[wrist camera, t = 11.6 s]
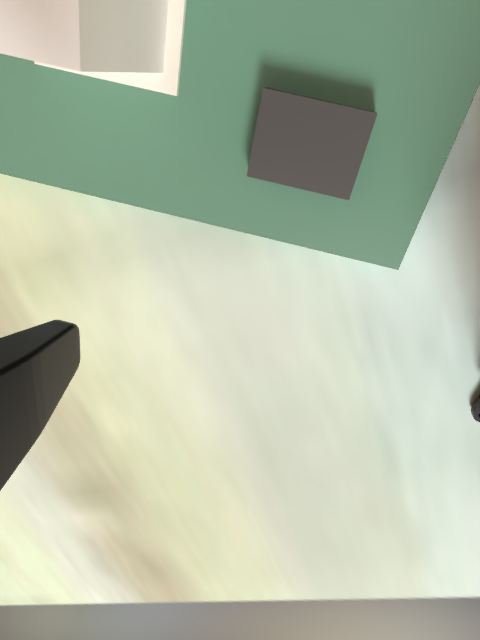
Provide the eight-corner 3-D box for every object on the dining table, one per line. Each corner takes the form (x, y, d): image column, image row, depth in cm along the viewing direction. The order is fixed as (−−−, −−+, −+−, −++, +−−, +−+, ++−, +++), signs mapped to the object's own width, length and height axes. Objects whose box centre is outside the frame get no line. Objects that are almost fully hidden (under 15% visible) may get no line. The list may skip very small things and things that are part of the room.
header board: (597, -220, 11) (689, -320, 8) (394, 258, 18) (406, 290, 16) (-103, -345, 12) (-230, -470, 9) (-23, 158, 19) (-80, 172, 17)
